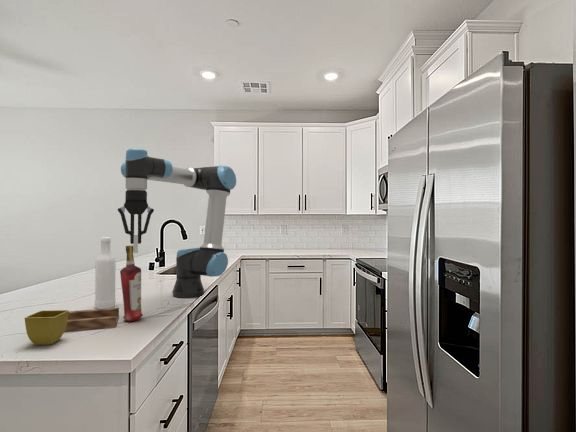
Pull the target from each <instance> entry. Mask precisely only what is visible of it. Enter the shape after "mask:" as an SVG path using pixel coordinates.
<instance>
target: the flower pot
mask: <svg viewBox="0 0 576 432" xmlns="http://www.w3.org/2000/svg"><path fill="white" fill-rule="evenodd" d="M69 311H70V310H68V309H65V310H64V309H62V310H61V309H60V310H57V309H56V310H48V309H47V310H39V311H37V312H34V313H32V314H29V315H27V316H25V317H24V325H25V330H26V335H27V337H28V340H30V342H31V343H32V344H33V345H35V346H41V345H42V346H43V345H53V344H55V342H57V341H60V339H61V338H62V337H63V335H64V333H65V332H64V331H65V329H66V326H67V320H68V313H69Z"/></svg>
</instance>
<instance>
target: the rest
mask: <svg viewBox="0 0 576 432" xmlns="http://www.w3.org/2000/svg"><path fill="white" fill-rule="evenodd" d="M119 317H120V308H119V307H113V308H107V309H96V308H94V309H82V310H69V313H68V320H67V326H66V329H65V331H64V333H70V332H79V331H80V332H81V331H91V330H101V329H102V330H103V329H111V328H112V329H113V328H117V323H118V320H119Z"/></svg>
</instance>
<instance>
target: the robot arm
mask: <svg viewBox="0 0 576 432" xmlns="http://www.w3.org/2000/svg"><path fill="white" fill-rule="evenodd" d="M120 173H121V175H122V176H123V177H124V179H125V190H126V191H125V193H124V194H125V196H124V197H125V198H124V199H125V201H124V203H123V206H122V207H118V208H117V212H118V213H119V215H120V217H121V221H122V225H123V230H124V232H125V234H126V235H129V237H130V245H133V249H134V250H133V254H138V253H139V245H140V244H142V236H143V235H144V234H147V231H148V227H149V224H150V220H151V216H152V214H153V212H154V211H155V209H154V208H152V207H150V206H149V203H148V192H147V189H148V181H155V182H162V183H163V182H164V183H170V184H171V183H172V184H180V185H183V186H184V187H186V188H193V189H199V190H202V191H203V190H204V191H206V193H207V194H208V202H207V209H206V219H205V229H204V236H203V243H202V245H200V246H199V247H195V248H194V247H193V248H184V249H178V250H177V252H176V258H175V259H176V261H175V263H176V264H175V265H176V266H175V267H176V281H175V284H174V286H173V289H172V296H173V297H175V298H179V299H180V298H183V299H187V298H188V299H190V298H197V297H202V296H204V295H205V288H204V285H203V282H202V279H201V276H206V277H220V276H223V274H224V273H225V272H226V270H227V267H228V263H229V258H228V255H227V254H226V252H225V248H224V247H223V245H222V244H223V234H224V224H225V218H226V217H225V214H226V206H227V199H228V198H227V197H229V196H230V195H231V191H232V190H233V189H235V187H236V186H237V176H236V173H235V171H234V170H233V168H232V167H230V166H228V165H217V166H216V165H215V166H203V167H187V168H183V167H176V166H173V164H172V163H171V162H170V161H169V160H167V159H164V158H158V157H150V156H149V155H148V151H147V150H146V149H143V148H135V147H134V148H128V149H127V150H126V153H125V161H124V162H122V164H121V166H120ZM126 211H127V212H128V214H130V224H129V225H130V226H129V225H128V223H127V219H126V215H125V212H126ZM146 211H147V215H146V219H145V222H144V227H143V230H142V220H143V219H142V218H143V217H142V215H143V214H144V213H145V212H146ZM135 215H137V234H135ZM128 226H129V227H130V230H129V227H128Z"/></svg>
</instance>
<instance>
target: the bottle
mask: <svg viewBox="0 0 576 432" xmlns="http://www.w3.org/2000/svg"><path fill="white" fill-rule="evenodd" d="M111 241H112V240H111V236H102V237H101V238H100V254H99V255H97V257H96V259H95V276H94V277H95V281H94V282H95V285H94V287H95V289H94V290H95V291H94V295H95V297H94V298H95V299H94V307H95V308H94V309H107V308H116V273H117V272H116V269H117V268H116V265H117V264H116V258H115V256H114V255H113V254H112V253H111Z"/></svg>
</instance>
